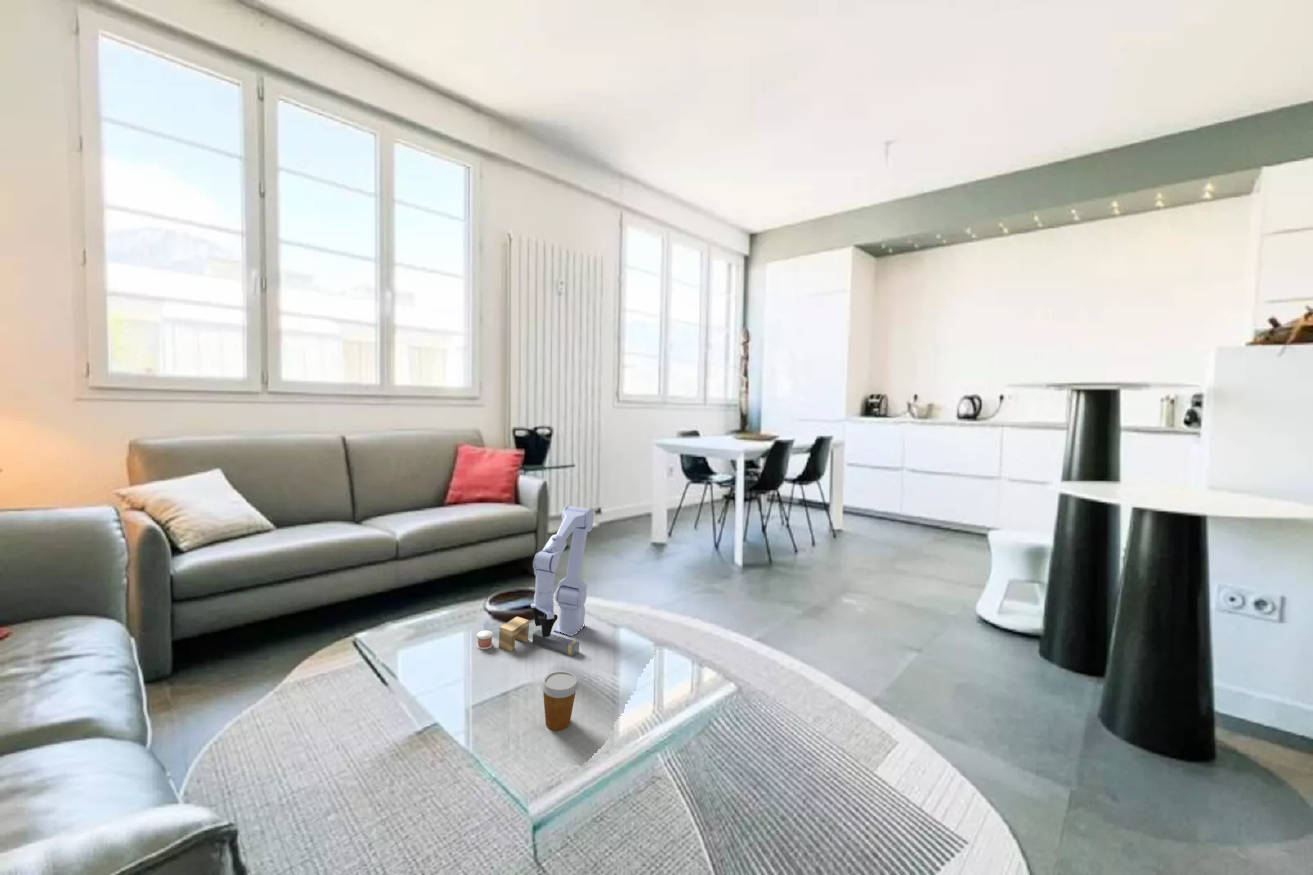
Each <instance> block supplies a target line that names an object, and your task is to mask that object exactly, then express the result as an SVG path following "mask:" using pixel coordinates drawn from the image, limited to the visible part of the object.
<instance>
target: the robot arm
mask: <svg viewBox="0 0 1313 875" xmlns="http://www.w3.org/2000/svg"><path fill="white" fill-rule="evenodd" d="M594 519H595V514H594V511H593V509H592V508H587V507H579V506H573V505H569V504H567V505H565V506H564V507H563V509H562V512H561V524H560V525H559V528H558V530H557V533H556V534H552V535H551V536H550V538H549V539H548V540H547V542H546V543H545V545H544V547H543V549H541V551H538V552H536V553H535V555H534V558H533V561H532V568H533V571H534V572H533V574H534V576H535V585H534V586H535V588H534V590H535V591H534V595H533V600H534V602H531V603H530V604H529V606H530V607H531V610H532V614H533V620H534V624H535V626H536V627H541V631H542V636H543V637H549V636H550V634H552V630H553V631H554V632H558V633H560V632H561V633H560V634H563V633H564V634H563V635H566V634H567V636H569V635H570V637H574V636H575V635H576V634H577V633H576V632H578V631H579V630H580V629H581V628H583V627H584V626H585V624H586V623H585V615H586V613H585V612H586V608H585V603H586V601H587V589H588V588H587V584H586V583H585V582H584V581H583V580H582V578H581V573H582V568H583V560H584V554H585V547H586V540H587V537H588V536H587V535H588V533H589V532H591V531H592V529H593V524H594ZM571 534H572V537H571V543H570V550H569V556H568V562H567V569H566V576H565V577H564V578H562V579H560V581H558V584H557V588H556V589H555V579H556V578H555V574H556V571H557V570H558V567H559V565H560V564H559V563H560V560H561V555H562V553H563V552H564V550H565V548H566V547H567V545H568V544H567V539H568V538H569V536H571ZM555 590H556V591H555ZM554 598H555V599H554ZM554 601H556V603H557V605H558V607H559V617H558V615H557V614H556V613H555V611H554V607H555V606H554V605H555V604H554V603H555V602H554ZM557 620H558V625H557V626H556V627H555V628H554V627H553V626H554V625H555V623H556V622H557ZM583 624H584V626H583ZM585 627H586V626H585ZM585 627H584V628H585ZM584 628H583V629H584ZM581 630H582V629H581ZM581 630H580V631H581ZM580 631H579V632H580ZM579 632H578V633H579ZM575 633H576V634H575ZM574 634H575V635H574ZM573 635H574V636H573Z"/></svg>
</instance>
